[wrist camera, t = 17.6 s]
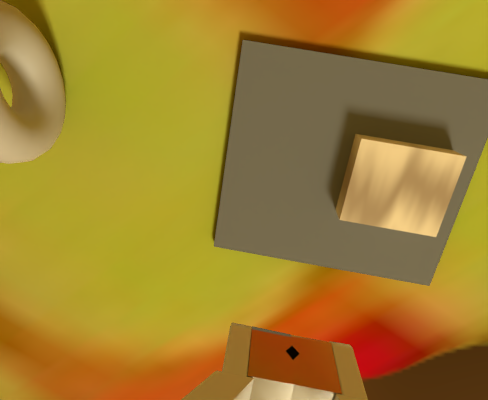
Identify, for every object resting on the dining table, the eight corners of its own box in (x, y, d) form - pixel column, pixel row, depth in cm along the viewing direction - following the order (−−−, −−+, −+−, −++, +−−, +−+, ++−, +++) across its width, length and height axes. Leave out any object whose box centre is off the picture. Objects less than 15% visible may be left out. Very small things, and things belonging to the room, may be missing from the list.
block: (335, 210, 28) (425, 226, 28) (339, 219, 26) (436, 237, 26) (355, 133, 26) (452, 150, 26) (361, 138, 24) (466, 156, 24)
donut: (87, 146, 29) (-6, 181, 19) (47, 148, 29) (-64, 183, 20) (58, 6, 25) (-71, -32, 16) (13, 10, 26) (-139, -25, 16)
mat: (426, 281, 30) (429, 285, 29) (215, 243, 30) (213, 246, 30) (503, 82, 24) (509, 82, 24) (243, 40, 25) (242, 39, 24)
